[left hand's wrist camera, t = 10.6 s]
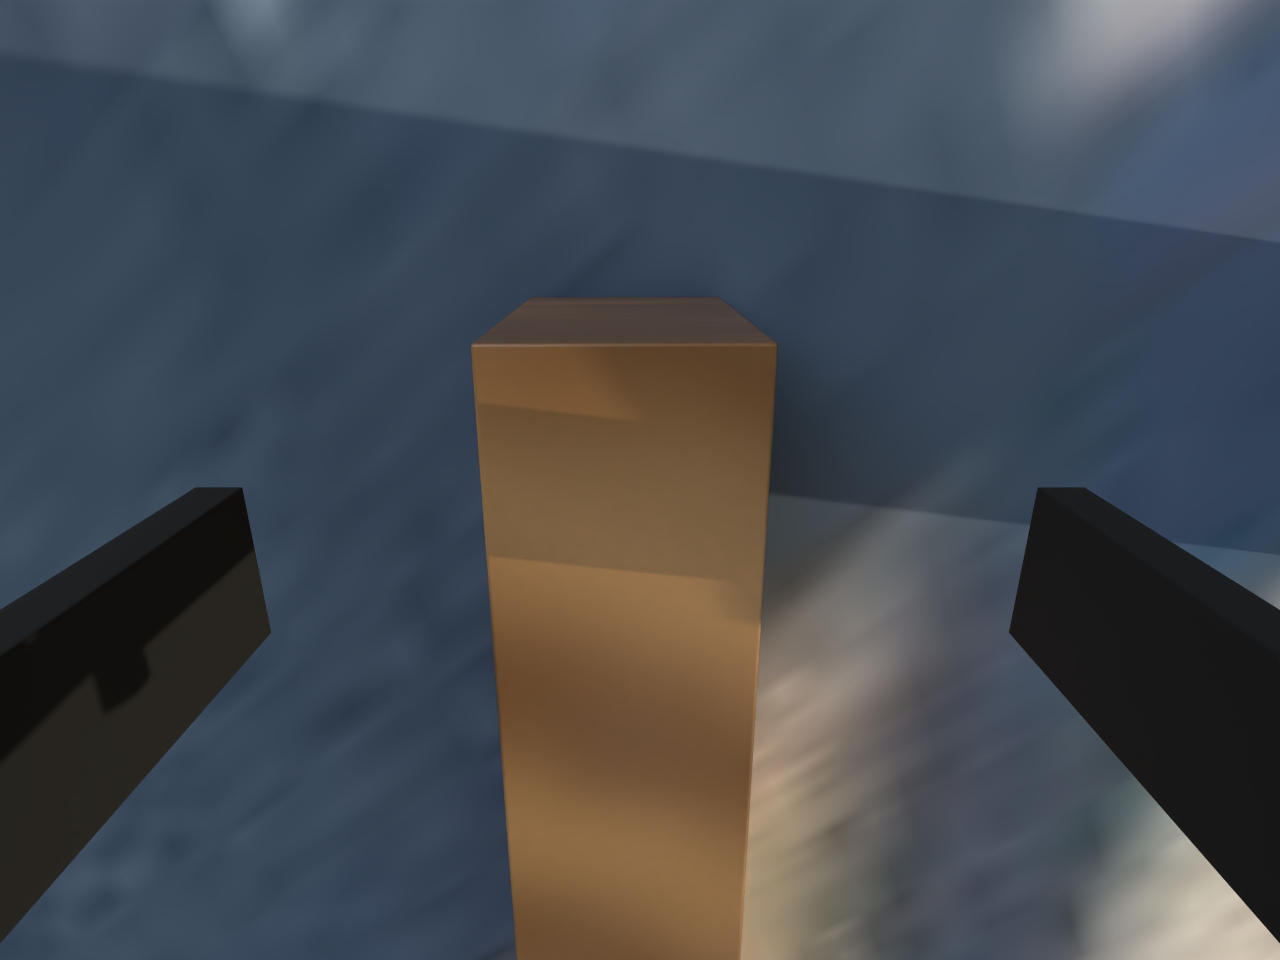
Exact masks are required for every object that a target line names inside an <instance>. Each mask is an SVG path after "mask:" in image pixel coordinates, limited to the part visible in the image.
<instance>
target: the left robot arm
mask: <svg viewBox="0 0 1280 960" xmlns="http://www.w3.org/2000/svg"><path fill="white" fill-rule="evenodd" d="M270 633H271V630H270V625H269V620H268V615H267V610H266V605H265V600H264V595H263V590H262V585H261V580H260V575H259V570H258V565H257V560H256V555H255V550H254V545H253V539H252V534H251V529H250V524H249V519H248V514H247V509H246V504H245V499H244V494H243V489H242V488H194V489H193V490H191V491H189V492H188V493H186V494H185V495H183V496H181V497H180V498H178V499H177V500H175V501H173V502H172V503H170V504H169V505H167V506H166V507H164V508H162V509H161V510H159V511H158V512H156V513H154V514H153V515H151V516H150V517H148V518H146V519H145V520H143V521H142V522H140V523H138V524H137V525H135V526H134V527H132V528H130V529H129V530H127V531H126V532H124V533H122V534H121V535H119V536H118V537H116V538H114V539H113V540H111V541H110V542H108V543H106V544H105V545H103V546H102V547H100V548H98V549H97V550H95V551H94V552H92V553H90V554H89V555H87V556H86V557H84V558H82V559H81V560H79V561H78V562H76V563H75V564H73V565H71V566H70V567H68V568H67V569H65V570H63V571H62V572H60V573H59V574H57V575H55V576H54V577H52V578H51V579H49V580H47V581H46V582H44V583H43V584H41V585H39V586H38V587H36V588H35V589H33V590H31V591H30V592H28V593H27V594H25V595H23V596H22V597H20V598H19V599H17V600H15V601H14V602H12V603H11V604H9V605H7V606H6V607H4V608H3V609H1V610H0V943H1V942H2V941H3V939H4V938H5V937H6V936H7V935H8V934H9V932H10V931H11V930H12V929H13V928H14V927H15V926H16V924H17V923H18V922H19V921H20V920H21V919H22V918H23V916H24V915H25V914H26V913H27V912H28V911H29V910H30V908H31V907H32V906H33V905H34V904H35V903H36V902H37V900H38V899H39V898H40V897H41V896H42V895H43V893H44V892H45V891H46V890H47V889H48V888H49V887H50V885H51V884H52V883H53V882H54V881H55V880H56V879H57V877H58V876H59V875H60V874H61V873H62V872H63V871H64V869H65V868H66V867H67V866H68V865H69V864H70V863H71V861H72V860H73V859H74V858H75V857H76V856H77V854H78V853H79V852H80V851H81V850H82V849H83V848H84V846H85V845H86V844H87V843H88V842H89V841H90V840H91V838H92V837H93V836H94V835H95V834H96V833H97V832H98V830H99V829H100V828H101V827H102V826H103V825H104V824H105V822H106V821H107V820H108V819H109V818H110V817H111V815H112V814H113V813H114V812H115V811H116V810H117V809H118V807H119V806H120V805H121V804H122V803H123V802H124V801H125V799H126V798H127V797H128V796H129V795H130V794H131V793H132V791H133V790H134V789H135V788H136V787H137V786H138V785H139V783H140V782H141V781H142V780H143V779H144V778H145V776H146V775H147V774H148V773H149V772H150V771H151V770H152V768H153V767H154V766H155V765H156V764H157V763H158V762H159V760H160V759H161V758H162V757H163V756H164V755H165V754H166V752H167V751H168V750H169V749H170V748H171V747H172V746H173V744H174V743H175V742H176V741H177V740H178V739H179V737H180V736H181V735H182V734H183V733H184V732H185V731H186V729H187V728H188V727H189V726H190V725H191V724H192V723H193V721H194V720H195V719H196V718H197V717H198V716H199V715H200V713H201V712H202V711H203V710H204V709H205V708H206V707H207V705H208V704H209V703H210V702H211V701H212V700H213V698H214V697H215V696H216V695H217V694H218V693H219V692H220V690H221V689H222V688H223V687H224V686H225V685H226V684H227V682H228V681H229V680H230V679H231V678H232V677H233V676H234V674H235V673H236V672H237V671H238V670H239V669H240V668H241V666H242V665H243V664H244V663H245V662H246V661H247V659H248V658H249V657H250V656H251V655H252V654H253V653H254V651H255V650H256V649H257V648H258V647H259V646H260V645H261V643H262V642H263V641H264V640H265V639H266V638H267V637H268V635H269V634H270ZM1009 633H1010V634H1011V635H1012V637H1013V638H1014V639H1015V640H1016V641H1017V642H1018V643H1019V645H1020V646H1021V647H1022V648H1023V649H1024V650H1025V651H1026V653H1027V654H1028V655H1029V656H1030V657H1031V658H1032V659H1033V661H1034V662H1035V663H1036V664H1037V665H1038V666H1039V668H1040V669H1041V670H1042V671H1043V672H1044V673H1045V674H1046V676H1047V677H1048V678H1049V679H1050V680H1051V681H1052V682H1053V684H1054V685H1055V686H1056V687H1057V688H1058V689H1059V690H1060V692H1061V693H1062V694H1063V695H1064V696H1065V697H1066V698H1067V700H1068V701H1069V702H1070V703H1071V704H1072V705H1073V707H1074V708H1075V709H1076V710H1077V711H1078V712H1079V713H1080V715H1081V716H1082V717H1083V718H1084V719H1085V720H1086V721H1087V723H1088V724H1089V725H1090V726H1091V727H1092V728H1093V729H1094V731H1095V732H1096V733H1097V734H1098V735H1099V736H1100V737H1101V739H1102V740H1103V741H1104V742H1105V743H1106V744H1107V746H1108V747H1109V748H1110V749H1111V750H1112V751H1113V752H1114V754H1115V755H1116V756H1117V757H1118V758H1119V759H1120V760H1121V762H1122V763H1123V764H1124V765H1125V766H1126V767H1127V768H1128V770H1129V771H1130V772H1131V773H1132V774H1133V775H1134V776H1135V778H1136V779H1137V780H1138V781H1139V782H1140V783H1141V785H1142V786H1143V787H1144V788H1145V789H1146V790H1147V791H1148V793H1149V794H1150V795H1151V796H1152V797H1153V798H1154V799H1155V801H1156V802H1157V803H1158V804H1159V805H1160V806H1161V807H1162V809H1163V810H1164V811H1165V812H1166V813H1167V814H1168V815H1169V817H1170V818H1171V819H1172V820H1173V821H1174V822H1175V824H1176V825H1177V826H1178V827H1179V828H1180V829H1181V830H1182V832H1183V833H1184V834H1185V835H1186V836H1187V837H1188V838H1189V840H1190V841H1191V842H1192V843H1193V844H1194V845H1195V846H1196V848H1197V849H1198V850H1199V851H1200V852H1201V853H1202V854H1203V856H1204V857H1205V858H1206V859H1207V860H1208V861H1209V863H1210V864H1211V865H1212V866H1213V867H1214V868H1215V869H1216V871H1217V872H1218V873H1219V874H1220V875H1221V876H1222V877H1223V879H1224V880H1225V881H1226V882H1227V883H1228V884H1229V885H1230V887H1231V888H1232V889H1233V890H1234V891H1235V892H1236V893H1237V895H1238V896H1239V897H1240V898H1241V899H1242V900H1243V902H1244V903H1245V904H1246V905H1247V906H1248V907H1249V908H1250V910H1251V911H1252V912H1253V913H1254V914H1255V915H1256V916H1257V918H1258V919H1259V920H1260V921H1261V922H1262V923H1263V924H1264V926H1265V927H1266V928H1267V929H1268V930H1269V931H1270V932H1271V934H1272V935H1273V936H1274V937H1275V938H1276V939H1277V941H1278V942H1279V943H1280V610H1279V609H1277V608H1276V607H1274V606H1273V605H1271V604H1269V603H1268V602H1266V601H1265V600H1263V599H1261V598H1260V597H1258V596H1257V595H1255V594H1253V593H1252V592H1250V591H1249V590H1247V589H1245V588H1244V587H1242V586H1241V585H1239V584H1237V583H1236V582H1234V581H1233V580H1231V579H1229V578H1228V577H1226V576H1225V575H1223V574H1221V573H1220V572H1218V571H1217V570H1215V569H1213V568H1212V567H1210V566H1209V565H1207V564H1205V563H1204V562H1202V561H1201V560H1199V559H1198V558H1196V557H1194V556H1193V555H1191V554H1190V553H1188V552H1186V551H1185V550H1183V549H1182V548H1180V547H1178V546H1177V545H1175V544H1174V543H1172V542H1170V541H1169V540H1167V539H1166V538H1164V537H1162V536H1161V535H1159V534H1158V533H1156V532H1154V531H1153V530H1151V529H1150V528H1148V527H1146V526H1145V525H1143V524H1142V523H1140V522H1138V521H1137V520H1135V519H1134V518H1132V517H1130V516H1129V515H1127V514H1126V513H1124V512H1122V511H1121V510H1119V509H1118V508H1116V507H1114V506H1113V505H1111V504H1110V503H1108V502H1107V501H1105V500H1103V499H1102V498H1100V497H1099V496H1097V495H1095V494H1094V493H1092V492H1091V491H1089V490H1087V489H1086V488H1038V489H1037V494H1036V499H1035V504H1034V509H1033V514H1032V519H1031V524H1030V529H1029V534H1028V539H1027V545H1026V550H1025V555H1024V560H1023V565H1022V570H1021V575H1020V580H1019V585H1018V590H1017V595H1016V600H1015V605H1014V610H1013V615H1012V620H1011V625H1010V630H1009Z"/></svg>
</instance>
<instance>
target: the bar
mask: <svg viewBox="0 0 1280 960" xmlns="http://www.w3.org/2000/svg"><path fill="white" fill-rule="evenodd" d="M777 356H778V345H777V343H776V342H775V341H773V340H772V339H771V338H770V337H768V336H767V335H766V334H765V333H763V332H762V331H761V330H760V329H758V328H757V327H756V326H755V325H753V324H752V323H751V322H750V321H748V320H747V319H746V318H745V317H743V316H742V315H741V314H740V313H738V312H737V311H736V310H735V309H733V308H732V307H731V306H730V305H728V304H727V303H726V302H725V301H723V300H722V299H721V298H719V297H532V298H530V299H528V300H527V301H526V302H525V303H523V304H522V305H521V306H520V307H518V308H517V309H516V310H514V311H513V312H512V313H511V314H509V315H508V316H507V317H505V318H504V319H503V320H502V321H500V322H499V323H498V324H497V325H495V326H494V327H493V328H491V329H490V330H489V331H488V332H486V333H485V334H484V335H483V336H481V337H480V338H479V339H477V340H476V341H475V342H474V343H472V345H471V359H472V372H473V386H474V399H475V412H476V426H477V439H478V453H479V466H480V479H481V493H482V506H483V519H484V533H485V546H486V560H487V573H488V586H489V600H490V613H491V627H492V640H493V653H494V667H495V680H496V693H497V707H498V720H499V734H500V747H501V760H502V774H503V787H504V800H505V814H506V827H507V841H508V854H509V867H510V881H511V894H512V908H513V921H514V934H515V948H516V960H740V953H741V937H742V921H743V905H744V889H745V873H746V856H747V840H748V824H749V808H750V792H751V776H752V760H753V743H754V727H755V711H756V695H757V679H758V663H759V646H760V630H761V614H762V598H763V582H764V566H765V550H766V533H767V517H768V501H769V485H770V469H771V453H772V437H773V420H774V404H775V388H776V372H777Z"/></svg>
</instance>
